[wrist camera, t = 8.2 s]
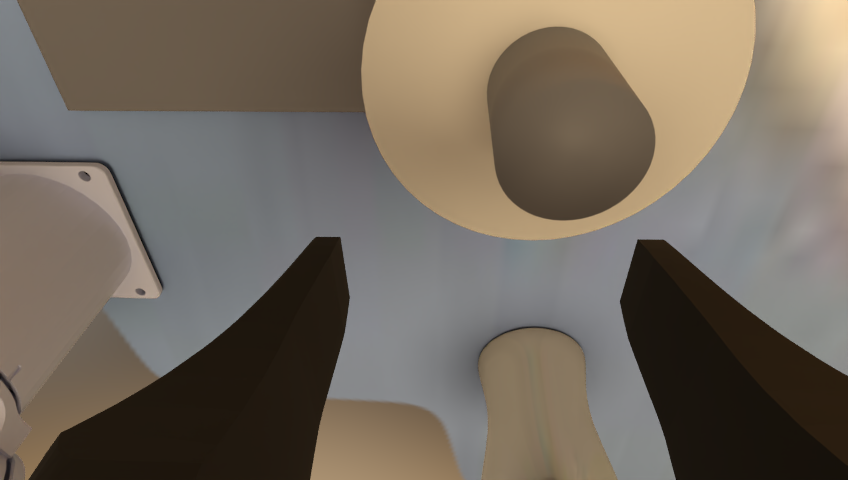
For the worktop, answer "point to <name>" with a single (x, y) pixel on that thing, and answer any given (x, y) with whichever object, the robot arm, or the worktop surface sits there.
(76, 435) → the robot arm
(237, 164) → the worktop surface
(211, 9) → the mat
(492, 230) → the lid
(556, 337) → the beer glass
